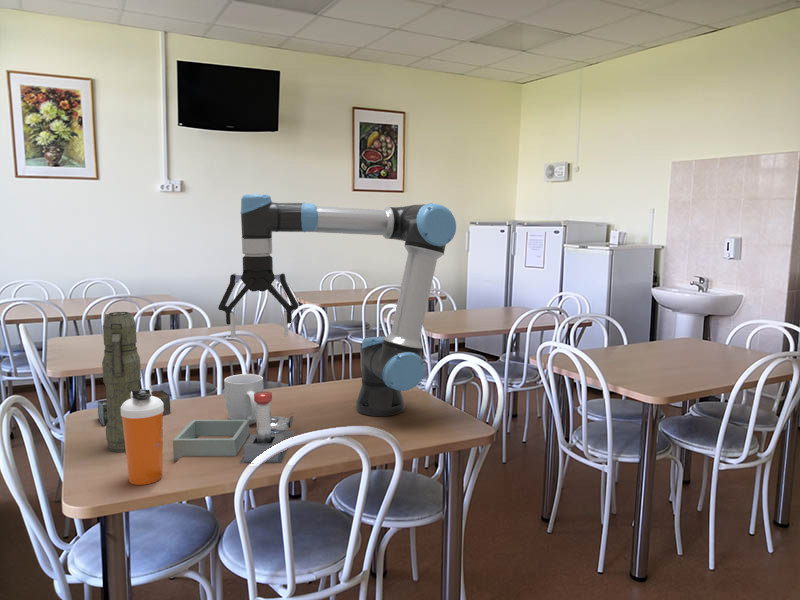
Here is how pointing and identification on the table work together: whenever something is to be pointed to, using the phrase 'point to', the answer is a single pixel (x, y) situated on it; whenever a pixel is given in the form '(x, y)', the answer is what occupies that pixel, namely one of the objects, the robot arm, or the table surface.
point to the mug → (242, 396)
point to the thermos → (119, 372)
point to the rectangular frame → (192, 446)
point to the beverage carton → (159, 394)
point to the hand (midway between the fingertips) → (259, 336)
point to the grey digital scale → (277, 435)
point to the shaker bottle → (143, 437)
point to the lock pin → (263, 416)
